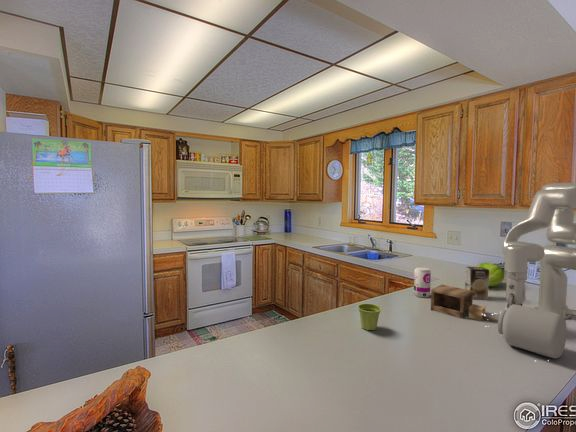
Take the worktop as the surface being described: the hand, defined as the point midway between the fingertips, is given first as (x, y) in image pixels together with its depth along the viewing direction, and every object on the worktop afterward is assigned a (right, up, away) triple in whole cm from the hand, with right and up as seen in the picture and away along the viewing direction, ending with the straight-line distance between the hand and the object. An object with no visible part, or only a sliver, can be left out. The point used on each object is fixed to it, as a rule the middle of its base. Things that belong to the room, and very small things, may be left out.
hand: (514, 315), depth 128 cm
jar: (-12, -6, -18) cm, 22 cm away
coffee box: (+6, -3, +37) cm, 37 cm away
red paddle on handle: (-6, -4, +5) cm, 9 cm away
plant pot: (-61, -5, -1) cm, 61 cm away
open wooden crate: (-17, -4, +18) cm, 25 cm away
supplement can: (-21, -3, +40) cm, 45 cm away
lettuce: (+26, -1, +57) cm, 62 cm away
